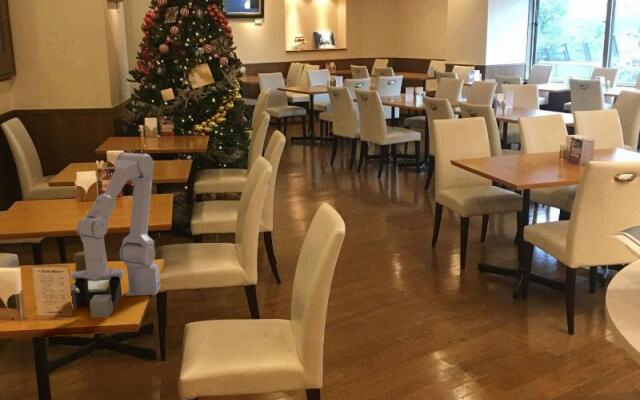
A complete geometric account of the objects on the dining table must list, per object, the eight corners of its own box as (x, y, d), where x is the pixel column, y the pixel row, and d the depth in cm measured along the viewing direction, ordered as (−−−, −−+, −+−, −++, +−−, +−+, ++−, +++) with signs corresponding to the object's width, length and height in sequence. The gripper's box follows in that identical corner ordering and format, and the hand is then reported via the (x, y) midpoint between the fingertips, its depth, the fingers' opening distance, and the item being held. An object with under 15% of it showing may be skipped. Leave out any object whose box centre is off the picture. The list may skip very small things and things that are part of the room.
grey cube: (113, 310, 196) (111, 294, 194) (109, 317, 191) (107, 301, 190) (96, 310, 195) (94, 295, 194) (91, 317, 191) (89, 301, 189)
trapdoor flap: (116, 281, 208) (115, 269, 207) (106, 296, 197) (105, 283, 196) (87, 282, 208) (86, 270, 207) (76, 297, 196) (74, 285, 195)
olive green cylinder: (88, 288, 212) (84, 256, 209) (71, 287, 214) (67, 255, 211) (98, 281, 218) (94, 250, 215) (81, 280, 219) (77, 249, 216)
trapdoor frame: (122, 294, 206) (119, 276, 205) (114, 306, 198) (112, 288, 196) (80, 296, 206) (78, 278, 204) (71, 308, 197) (68, 290, 195)
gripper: (65, 263, 184) (71, 308, 188) (117, 261, 185) (122, 305, 189) (73, 255, 191) (78, 298, 195) (123, 252, 192) (128, 296, 195)
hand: (100, 301), depth 192 cm, fingers open, 7 cm apart
